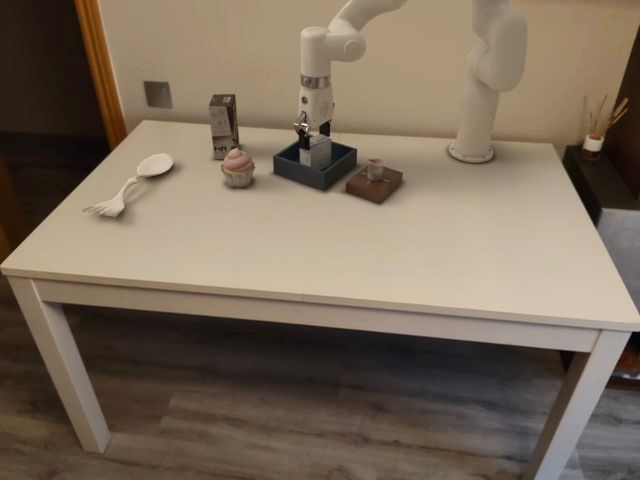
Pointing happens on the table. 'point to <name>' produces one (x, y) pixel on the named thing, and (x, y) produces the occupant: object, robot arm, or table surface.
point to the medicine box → (317, 153)
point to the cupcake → (238, 168)
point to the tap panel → (374, 184)
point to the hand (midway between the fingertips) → (314, 142)
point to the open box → (291, 168)
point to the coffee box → (223, 124)
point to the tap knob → (375, 169)
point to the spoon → (145, 169)
